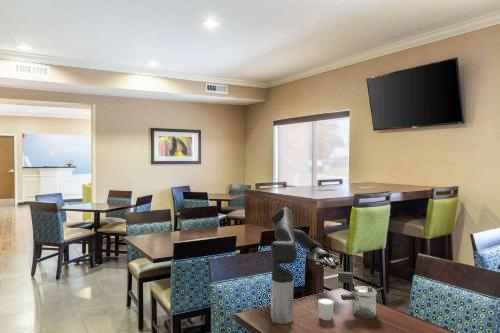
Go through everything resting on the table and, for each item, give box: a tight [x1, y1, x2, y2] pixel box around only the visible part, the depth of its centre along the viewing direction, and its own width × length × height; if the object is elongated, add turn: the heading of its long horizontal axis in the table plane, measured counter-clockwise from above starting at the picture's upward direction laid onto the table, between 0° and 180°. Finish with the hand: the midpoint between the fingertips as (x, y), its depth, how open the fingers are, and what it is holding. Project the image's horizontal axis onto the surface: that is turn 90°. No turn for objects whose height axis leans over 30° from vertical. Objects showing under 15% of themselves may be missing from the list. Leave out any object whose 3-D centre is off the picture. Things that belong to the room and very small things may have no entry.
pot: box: [340, 292, 377, 319], centre depth 161 cm, size 15×10×9 cm, turn 96°
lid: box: [337, 271, 378, 297], centre depth 162 cm, size 16×11×8 cm, turn 71°
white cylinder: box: [317, 298, 335, 321], centre depth 157 cm, size 7×7×7 cm
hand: (333, 267), depth 176 cm, fingers closed
